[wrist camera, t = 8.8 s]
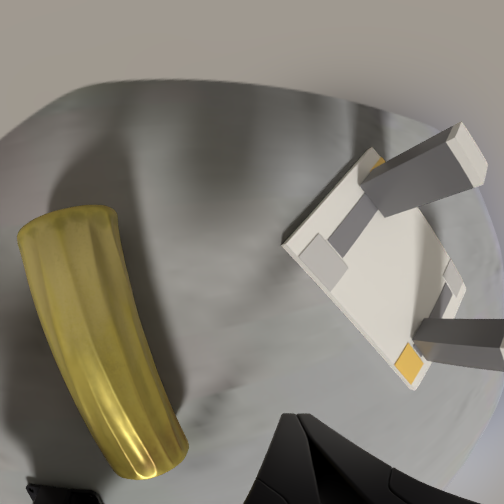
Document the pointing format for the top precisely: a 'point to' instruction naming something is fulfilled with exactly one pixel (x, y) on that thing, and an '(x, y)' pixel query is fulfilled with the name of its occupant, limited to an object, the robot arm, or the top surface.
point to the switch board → (378, 268)
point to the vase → (100, 338)
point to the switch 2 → (462, 342)
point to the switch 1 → (427, 172)
